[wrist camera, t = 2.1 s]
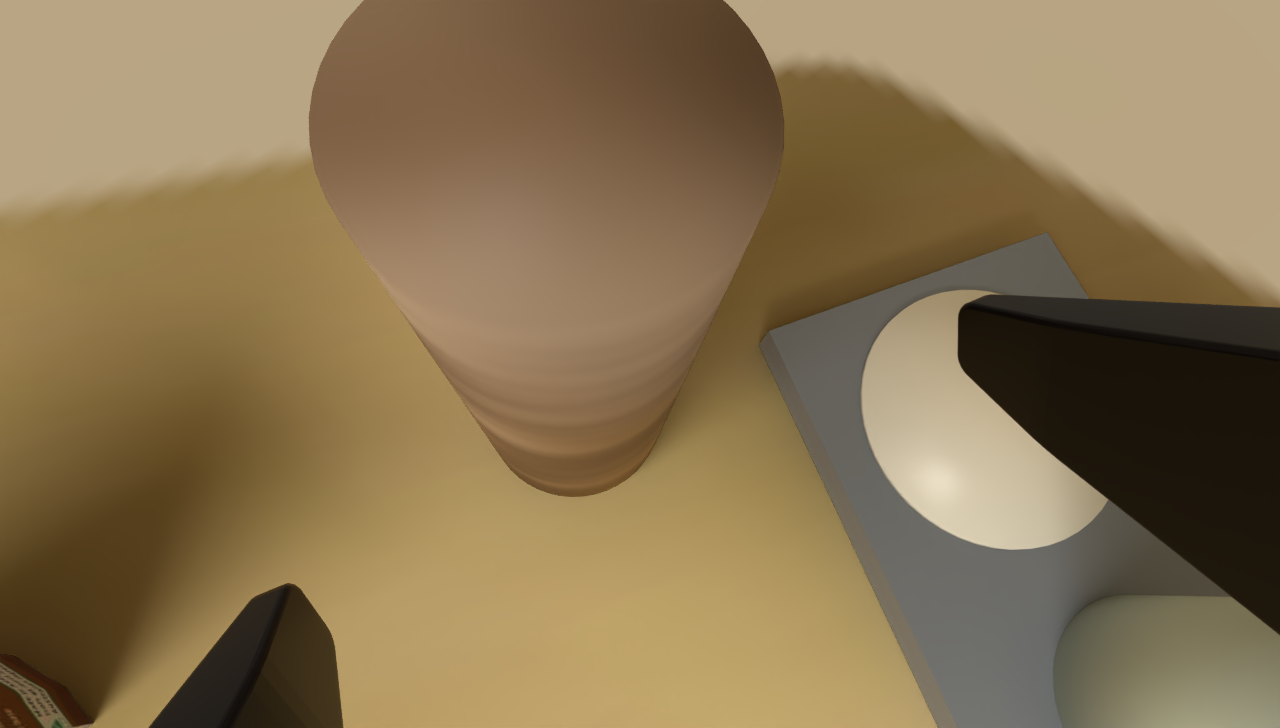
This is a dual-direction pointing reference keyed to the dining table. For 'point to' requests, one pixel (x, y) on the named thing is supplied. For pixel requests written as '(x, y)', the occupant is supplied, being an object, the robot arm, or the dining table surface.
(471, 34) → the walnut post
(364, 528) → the dining table surface
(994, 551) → the slate board
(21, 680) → the food container
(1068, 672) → the sage posts
